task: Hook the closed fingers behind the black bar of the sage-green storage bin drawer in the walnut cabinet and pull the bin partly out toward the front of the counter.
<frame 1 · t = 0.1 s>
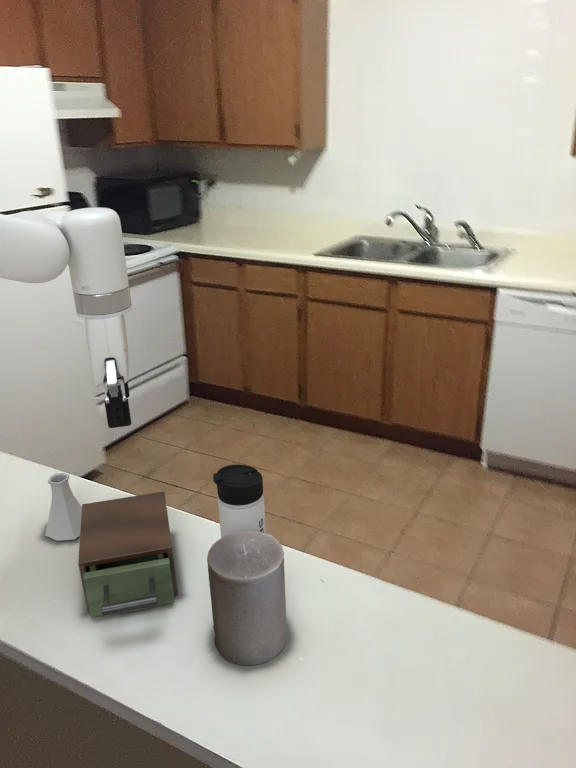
hand: (119, 411, 99), 23 cm above the countertop, tool pointing down, fingers open, 9 cm apart
travel mug: (246, 591, 97), on the countertop
flask: (69, 529, 112), on the countertop
bin drawer: (129, 571, 95), point 4 cm above the countertop, slide at 1.0 cm
pillar candle: (251, 638, 88), on the countertop
cabinet: (132, 571, 101), on the countertop
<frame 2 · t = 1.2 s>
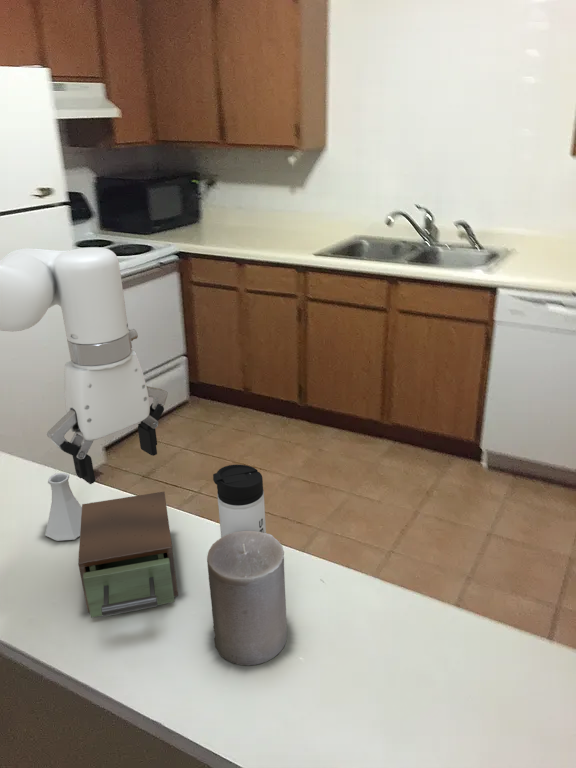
hand: (119, 465, 91), 20 cm above the countertop, tool pointing down, fingers open, 9 cm apart
nothing on the countertop moved.
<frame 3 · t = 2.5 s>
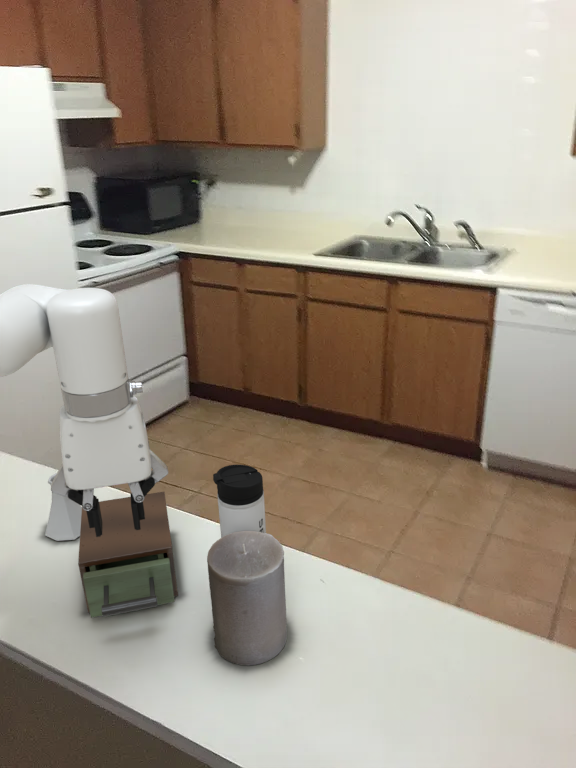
hand: (118, 525, 85), 16 cm above the countertop, tool pointing down, fingers open, 4 cm apart
nothing on the countertop moved.
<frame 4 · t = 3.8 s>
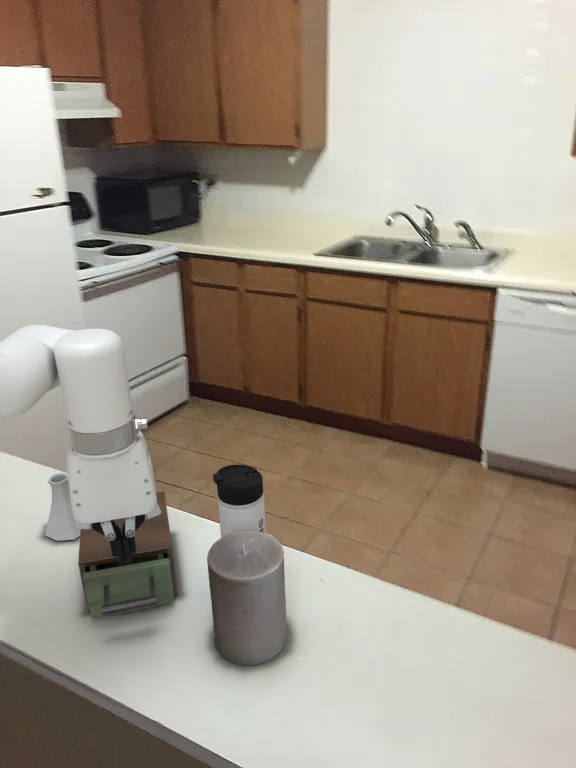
hand: (125, 557, 87), 11 cm above the countertop, tool pointing down, fingers closed
nothing on the countertop moved.
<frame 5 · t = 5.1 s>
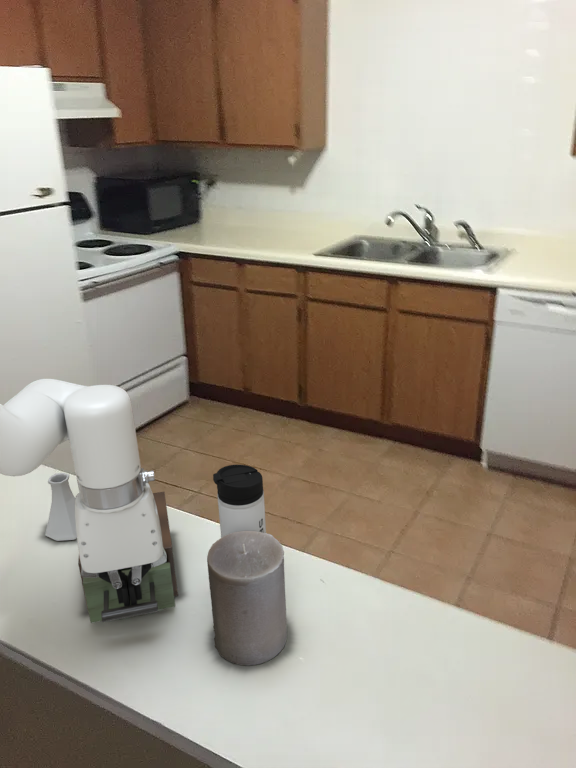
hand: (131, 603, 88), 5 cm above the countertop, tool pointing down, fingers closed
bin drawer: (129, 575, 94), point 4 cm above the countertop, slide at 2.0 cm, touching gripper
everything else where it was.
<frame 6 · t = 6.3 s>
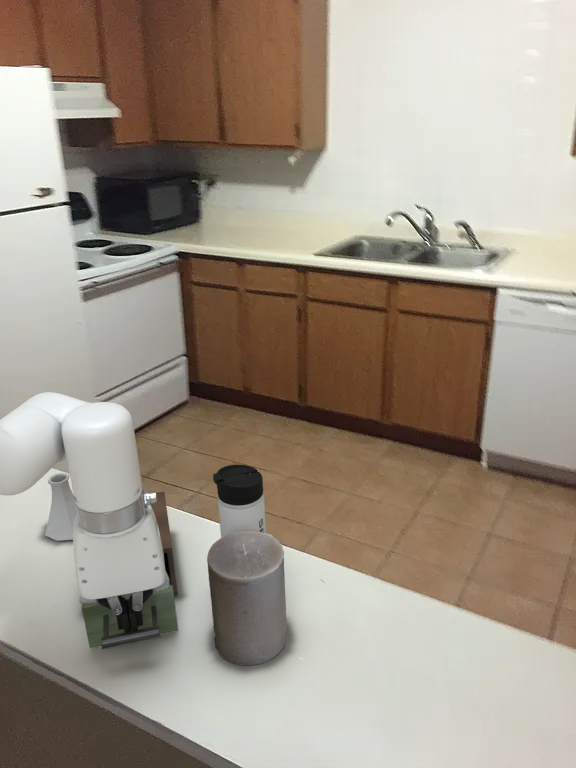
hand: (131, 629, 84), 5 cm above the countertop, tool pointing down, fingers closed
bin drawer: (130, 598, 90), point 4 cm above the countertop, slide at 6.7 cm, touching gripper
everything else where it was.
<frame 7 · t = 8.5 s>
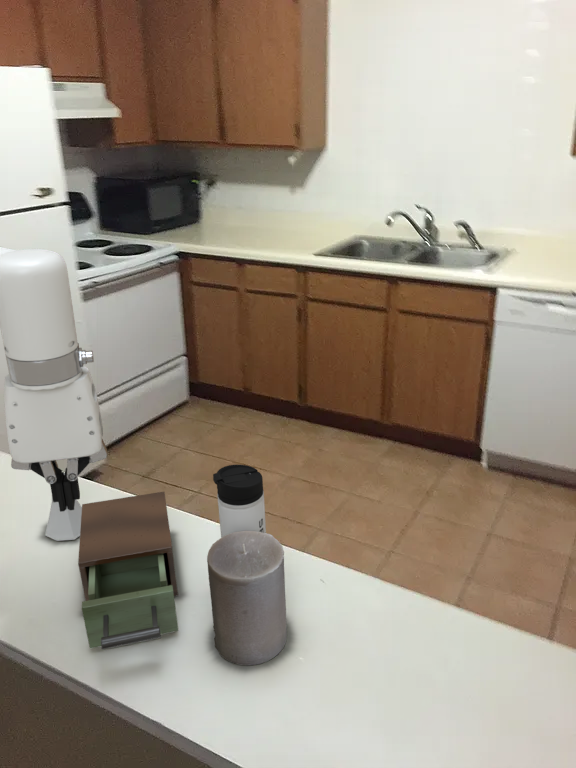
hand: (67, 504, 81), 21 cm above the countertop, tool pointing down, fingers closed
bin drawer: (130, 598, 90), point 4 cm above the countertop, slide at 6.7 cm
everything else where it was.
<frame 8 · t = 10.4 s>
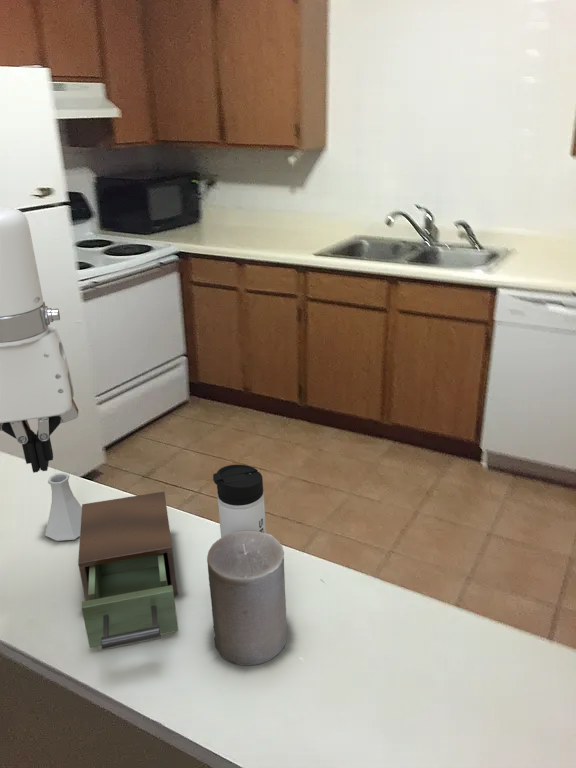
hand: (41, 465, 81), 25 cm above the countertop, tool pointing down, fingers closed
nothing on the countertop moved.
at the end: bin drawer slide at 6.7 cm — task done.
